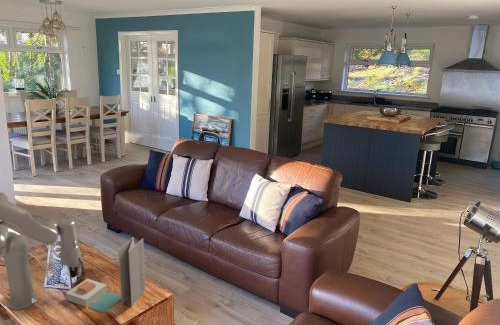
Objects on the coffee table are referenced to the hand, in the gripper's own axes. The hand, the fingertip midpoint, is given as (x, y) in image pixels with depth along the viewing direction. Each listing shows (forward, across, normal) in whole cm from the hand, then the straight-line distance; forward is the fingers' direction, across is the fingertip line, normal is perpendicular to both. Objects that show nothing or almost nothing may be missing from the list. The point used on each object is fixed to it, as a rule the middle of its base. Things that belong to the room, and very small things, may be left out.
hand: (74, 275), depth 193 cm
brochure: (+10, +30, +8) cm, 33 cm away
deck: (+9, +8, -1) cm, 12 cm away
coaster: (+5, +8, -1) cm, 10 cm away
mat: (+9, +21, -1) cm, 23 cm away
